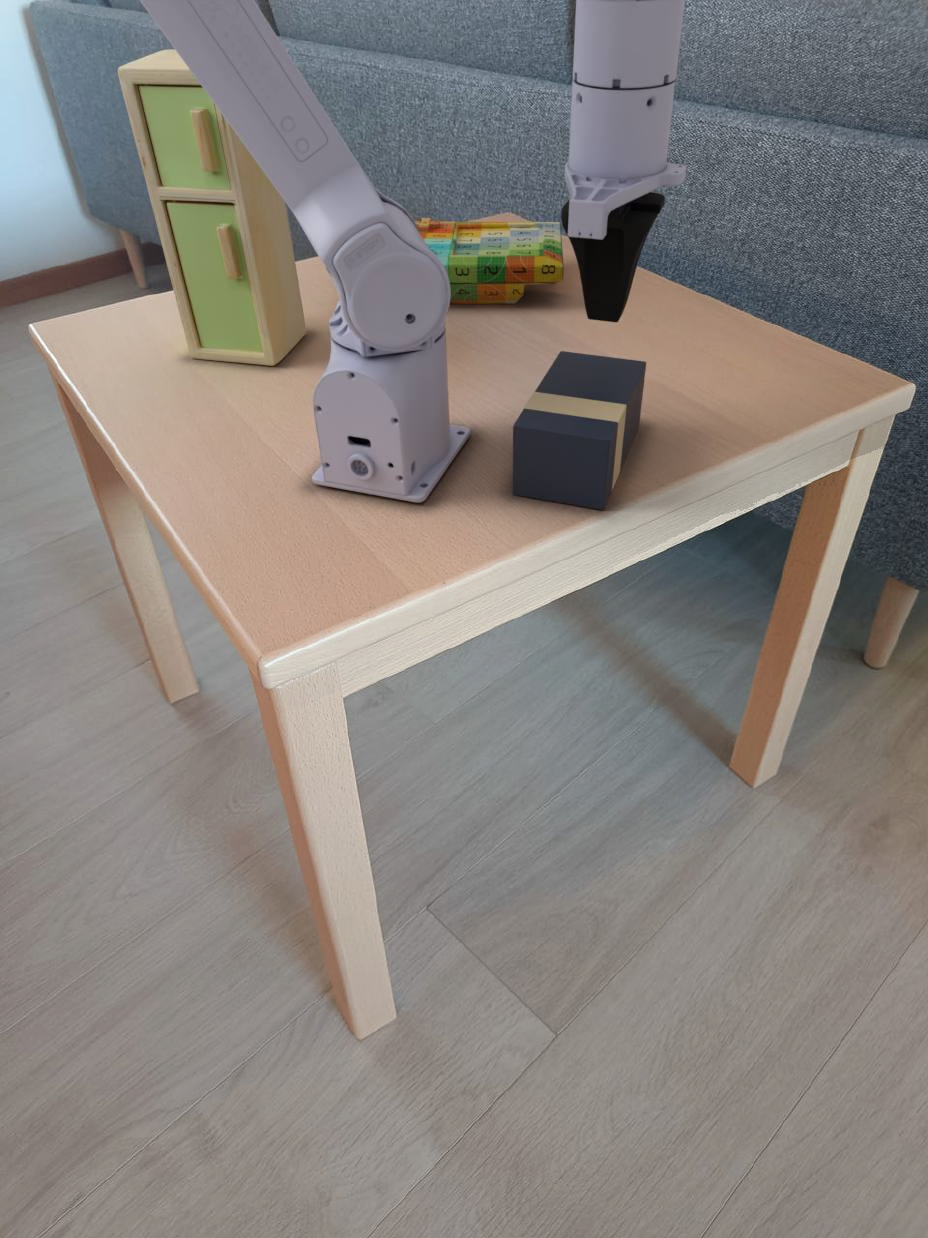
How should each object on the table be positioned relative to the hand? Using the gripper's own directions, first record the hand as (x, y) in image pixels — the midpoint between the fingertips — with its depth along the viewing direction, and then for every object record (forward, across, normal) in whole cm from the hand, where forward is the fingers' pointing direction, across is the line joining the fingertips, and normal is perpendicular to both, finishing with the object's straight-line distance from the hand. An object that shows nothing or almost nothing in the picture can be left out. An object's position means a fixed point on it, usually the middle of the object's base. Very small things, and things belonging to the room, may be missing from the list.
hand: (604, 316), depth 59 cm
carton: (+5, 0, 0) cm, 5 cm away
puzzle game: (+8, +22, +19) cm, 30 cm away
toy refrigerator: (+8, +4, +31) cm, 32 cm away
